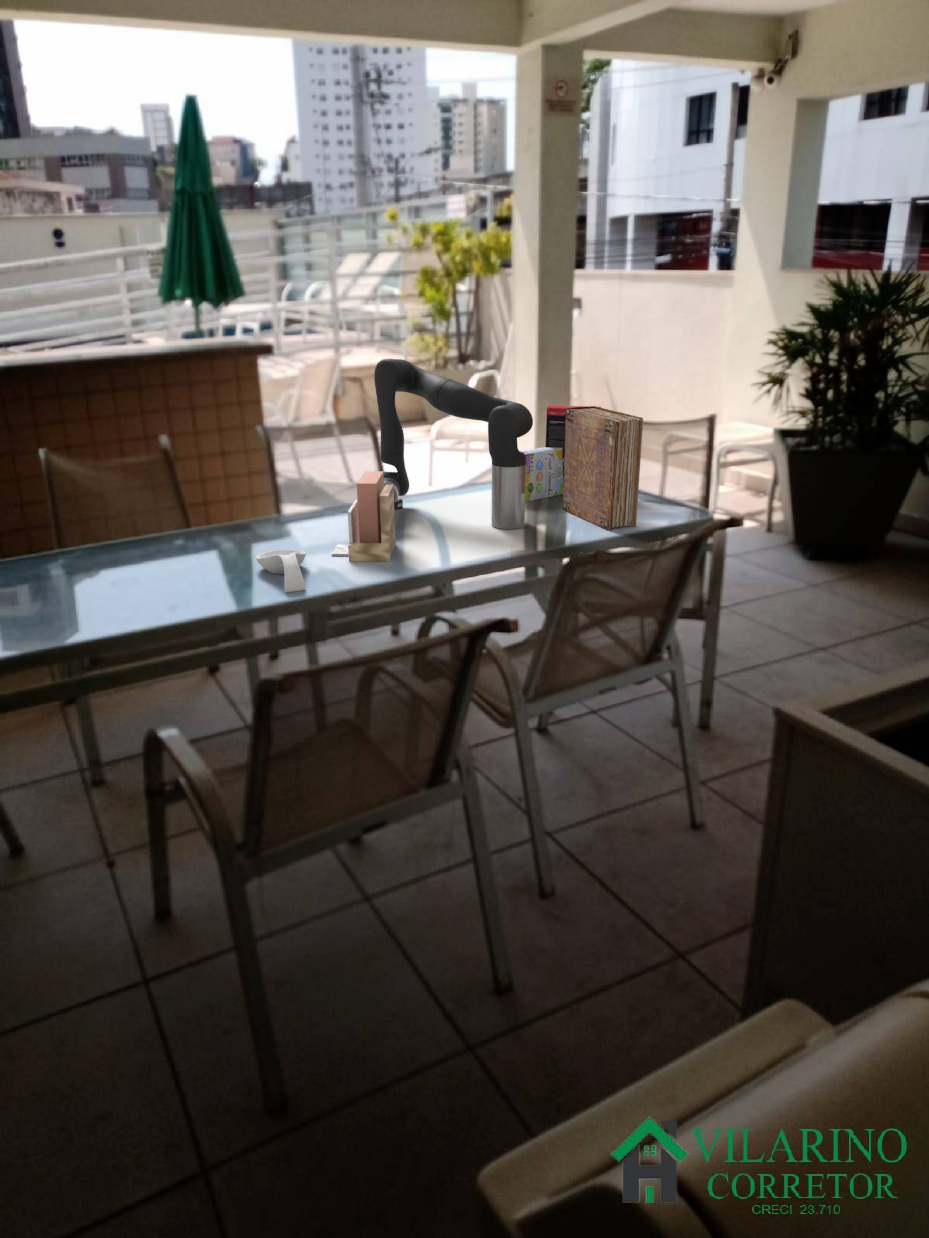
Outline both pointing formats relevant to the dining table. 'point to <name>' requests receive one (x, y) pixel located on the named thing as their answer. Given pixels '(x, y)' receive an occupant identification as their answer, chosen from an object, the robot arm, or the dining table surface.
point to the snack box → (543, 473)
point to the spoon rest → (285, 567)
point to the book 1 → (370, 506)
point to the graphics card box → (557, 428)
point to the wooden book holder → (387, 533)
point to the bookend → (350, 531)
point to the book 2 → (602, 466)
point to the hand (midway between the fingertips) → (376, 512)
